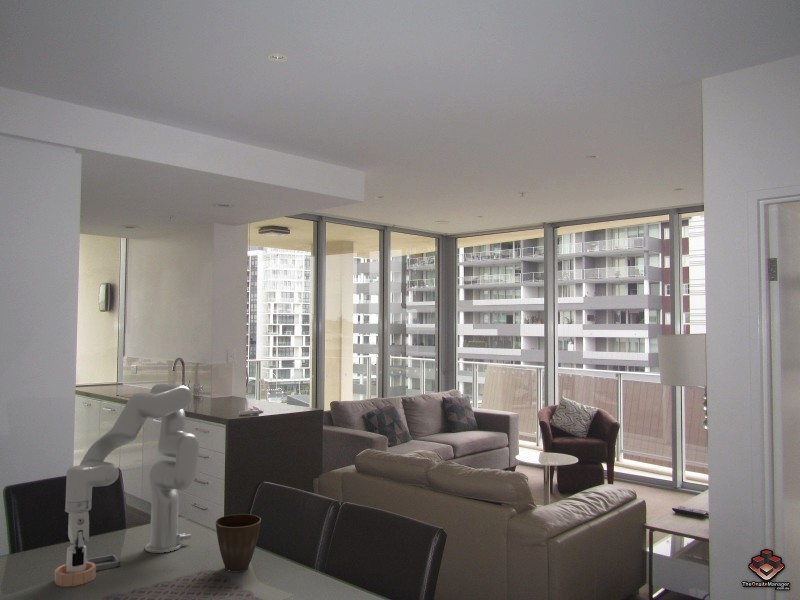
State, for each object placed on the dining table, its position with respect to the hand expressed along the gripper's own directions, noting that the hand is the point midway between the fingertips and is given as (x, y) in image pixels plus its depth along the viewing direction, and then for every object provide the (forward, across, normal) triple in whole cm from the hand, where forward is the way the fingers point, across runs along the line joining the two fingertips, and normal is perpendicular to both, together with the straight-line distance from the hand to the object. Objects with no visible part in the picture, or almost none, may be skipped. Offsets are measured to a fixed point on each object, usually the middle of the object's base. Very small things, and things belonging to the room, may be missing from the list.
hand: (76, 562), depth 203 cm
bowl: (+5, 0, 0) cm, 5 cm away
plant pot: (+6, -19, -46) cm, 50 cm away
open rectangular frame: (+5, +8, -9) cm, 14 cm away
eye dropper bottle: (+3, 0, 0) cm, 3 cm away
